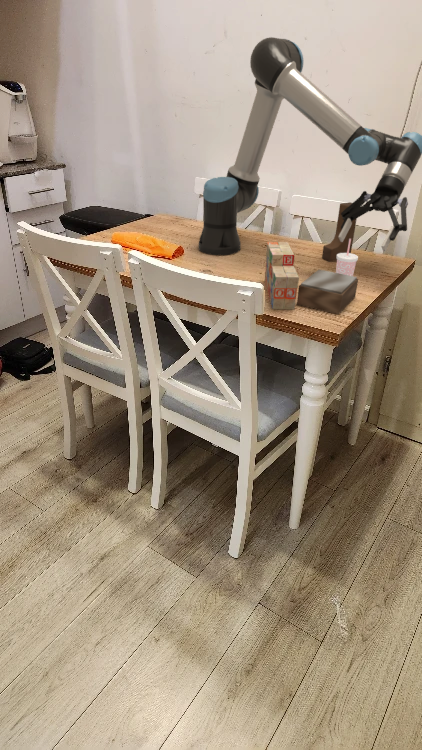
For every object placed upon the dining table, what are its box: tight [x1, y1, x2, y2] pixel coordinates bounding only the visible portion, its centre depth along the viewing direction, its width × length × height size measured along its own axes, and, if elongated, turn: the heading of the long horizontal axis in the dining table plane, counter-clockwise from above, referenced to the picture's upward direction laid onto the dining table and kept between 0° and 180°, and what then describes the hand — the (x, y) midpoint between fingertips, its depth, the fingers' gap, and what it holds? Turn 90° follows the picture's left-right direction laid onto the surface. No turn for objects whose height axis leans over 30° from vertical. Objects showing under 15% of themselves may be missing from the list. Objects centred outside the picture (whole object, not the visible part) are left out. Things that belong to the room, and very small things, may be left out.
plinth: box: [296, 269, 359, 315], centre depth 134 cm, size 12×14×6 cm
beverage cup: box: [335, 239, 359, 276], centre depth 142 cm, size 6×6×14 cm
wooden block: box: [321, 201, 358, 263], centre depth 162 cm, size 9×4×18 cm, turn 116°
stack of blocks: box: [264, 241, 300, 310], centre depth 136 cm, size 21×6×12 cm, turn 1°
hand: (361, 244), depth 142 cm, fingers open, 13 cm apart
